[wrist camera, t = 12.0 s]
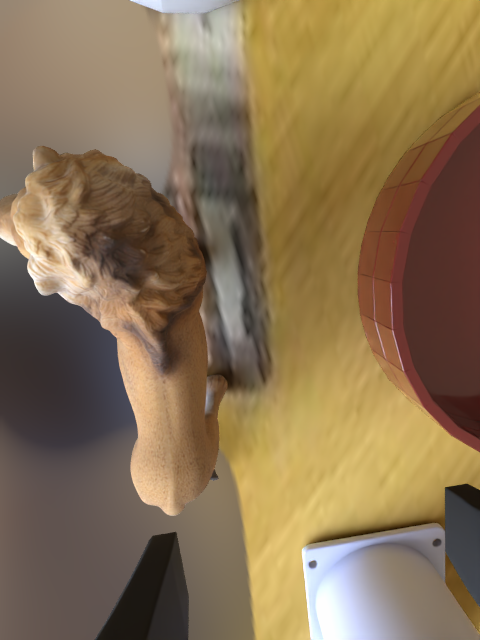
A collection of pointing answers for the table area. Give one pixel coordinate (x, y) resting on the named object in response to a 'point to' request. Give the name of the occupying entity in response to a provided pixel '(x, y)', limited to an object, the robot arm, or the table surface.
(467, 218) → the bowl
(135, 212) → the lion figurine
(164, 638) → the robot arm
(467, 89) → the table surface
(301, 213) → the table surface
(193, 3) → the donut
